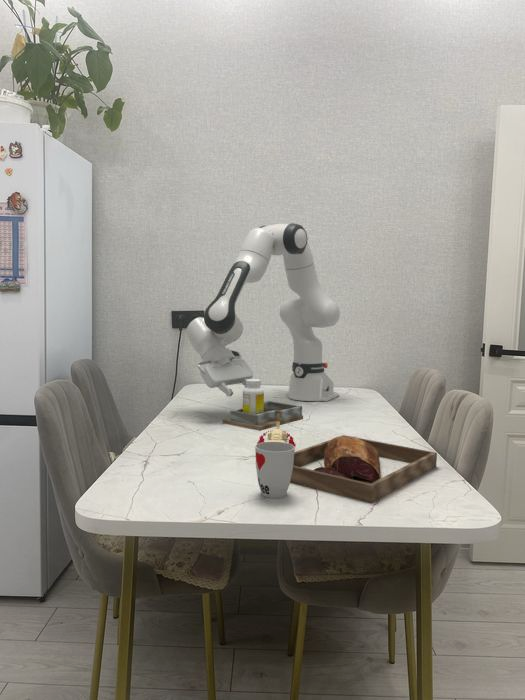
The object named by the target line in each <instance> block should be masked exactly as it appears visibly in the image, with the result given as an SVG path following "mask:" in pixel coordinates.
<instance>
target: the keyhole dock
mask: <svg viewBox="0 0 525 700" xmlns="http://www.w3.org/2000/svg"><path fill="white" fill-rule="evenodd" d="M277 414H280V426H282V425H285V424H287V423H292V422H295V421H299V420H303V419H304V415H303V406H302V405H296V404H289V403H285V402H284V403H283V402H277V401H270V400H267V401H264V413H261V414H257V415H254V414H249V413H243V407H241V408H237V409H233V410H230V411H229V417H228V418H225V419H222V421H221V423H222V424H226V425H231V426H235V427H236V426H237V427H240V428H241V427H242V428H246V429H249V430H250V429H251V430H254V431H255V430H256V431H263V430H266V429H270V428H273V427H276V423H277Z"/></svg>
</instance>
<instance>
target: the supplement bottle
mask: <svg viewBox="0 0 525 700" xmlns="http://www.w3.org/2000/svg"><path fill="white" fill-rule="evenodd" d="M261 384H262V380H261V379H258V378H251V379H247V380H246V385H247V387H246V388H245V387H244V388H243V390H242V408H243V413H249V414H254V415H257V414H261V413H264V402H265V391H264V388H262V387H261Z"/></svg>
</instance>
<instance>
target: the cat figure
mask: <svg viewBox="0 0 525 700" xmlns="http://www.w3.org/2000/svg"><path fill="white" fill-rule="evenodd" d="M280 427H281V425H280V414H277V423H276V426H275V429H269V430H267V431H266V432H263V433H262V435H260V436H259V439H258V441H257V443H256V444H259V443H262V442H284V443H287V441H286V440H287V439H288V443H289V444H292V445H293V446H295V448H296V442H295V441H294V437H293V436H291V434H290V433H288V432H287V430H286V429H281V428H280ZM266 434H267V438H268V439H267V440H265V438H264V436H266Z"/></svg>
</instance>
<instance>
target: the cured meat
mask: <svg viewBox="0 0 525 700" xmlns="http://www.w3.org/2000/svg"><path fill="white" fill-rule="evenodd" d="M349 436H350V437H349ZM358 438H359V437H356V436H351V435H345V436H343V435H339V436H336V437H334V438H331V439H329V440H330V441H329V442H328V444H327V448H325V456H324V457H323V462H324V463H323V465H324V466H320V467H316V468H314V469H313V470H314V471H319V472H323V473H327V474H331V475H335V476H340V477H344V478H348V479H352V480H353V478H354V476H355V477H357V478H360V479H363V480H367V481H370V482H371V483H373V482H375V481H377V480H379V479H381V465H380V463H381V462H380V456H379V454H378V452H377V451H376V449H375V448H374V447H373V446H372V445H370V444H368V443H367V442H365V441H363V440H361V439H362V438H361V439H358Z"/></svg>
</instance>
